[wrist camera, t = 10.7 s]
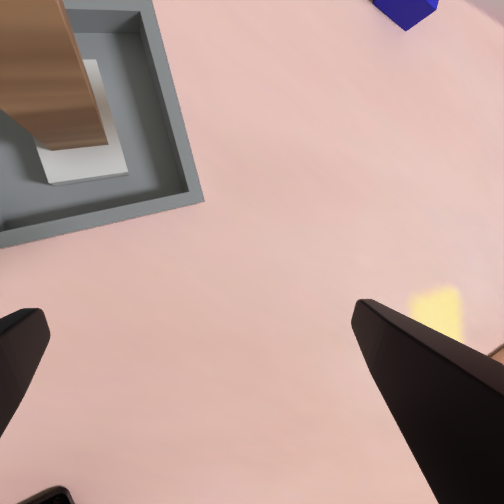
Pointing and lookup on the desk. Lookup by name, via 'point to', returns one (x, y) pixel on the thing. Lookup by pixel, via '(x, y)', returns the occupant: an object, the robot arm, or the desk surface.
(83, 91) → the wooden post on base
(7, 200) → the tray
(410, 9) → the cable clip
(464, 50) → the desk surface
